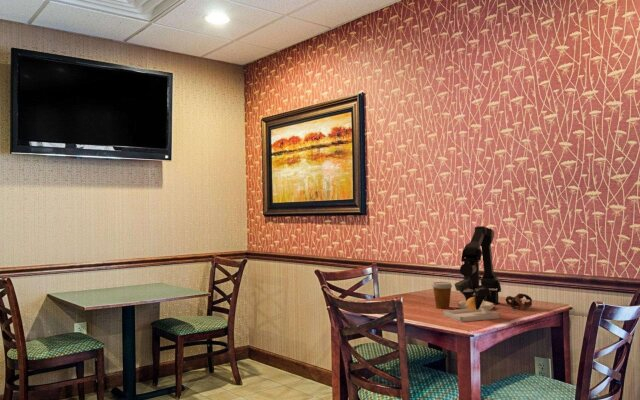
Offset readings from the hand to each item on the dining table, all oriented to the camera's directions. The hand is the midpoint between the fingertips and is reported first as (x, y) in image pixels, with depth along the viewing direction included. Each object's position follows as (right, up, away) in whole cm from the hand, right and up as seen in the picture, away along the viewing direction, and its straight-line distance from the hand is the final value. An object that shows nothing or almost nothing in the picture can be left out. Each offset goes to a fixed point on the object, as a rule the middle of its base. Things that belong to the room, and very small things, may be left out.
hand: (473, 308), depth 246 cm
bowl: (+6, -3, +19) cm, 20 cm away
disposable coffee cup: (-9, -4, +21) cm, 23 cm away
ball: (0, +2, 0) cm, 2 cm away
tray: (-2, -3, -3) cm, 5 cm away
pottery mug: (+26, -3, +14) cm, 30 cm away
